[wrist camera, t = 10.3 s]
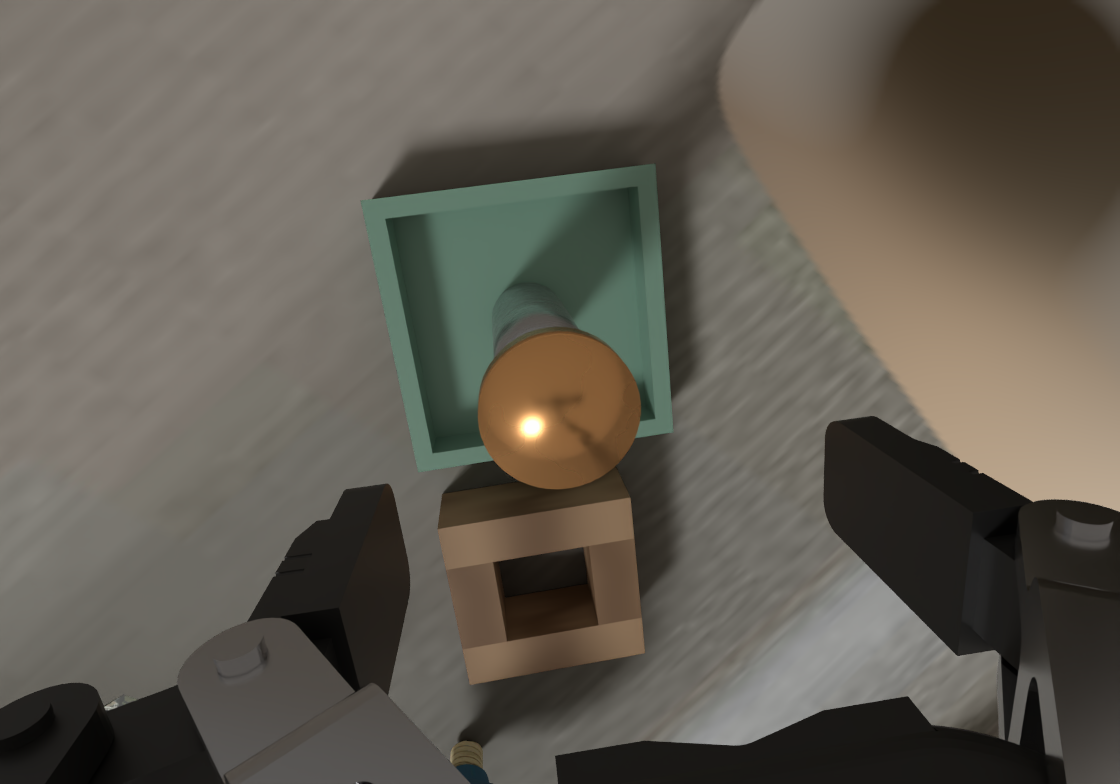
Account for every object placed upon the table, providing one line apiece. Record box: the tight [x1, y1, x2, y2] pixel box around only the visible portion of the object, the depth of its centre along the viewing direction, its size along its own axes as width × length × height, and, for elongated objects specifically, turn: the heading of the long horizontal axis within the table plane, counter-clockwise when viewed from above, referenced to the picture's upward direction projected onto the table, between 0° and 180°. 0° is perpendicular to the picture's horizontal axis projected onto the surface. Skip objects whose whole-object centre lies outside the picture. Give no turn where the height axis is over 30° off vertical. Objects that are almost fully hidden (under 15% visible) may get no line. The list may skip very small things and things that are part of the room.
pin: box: [478, 282, 641, 489], centre depth 23 cm, size 4×4×13 cm
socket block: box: [438, 466, 645, 685], centre depth 32 cm, size 9×9×4 cm
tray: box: [361, 164, 673, 472], centre depth 28 cm, size 12×12×2 cm
